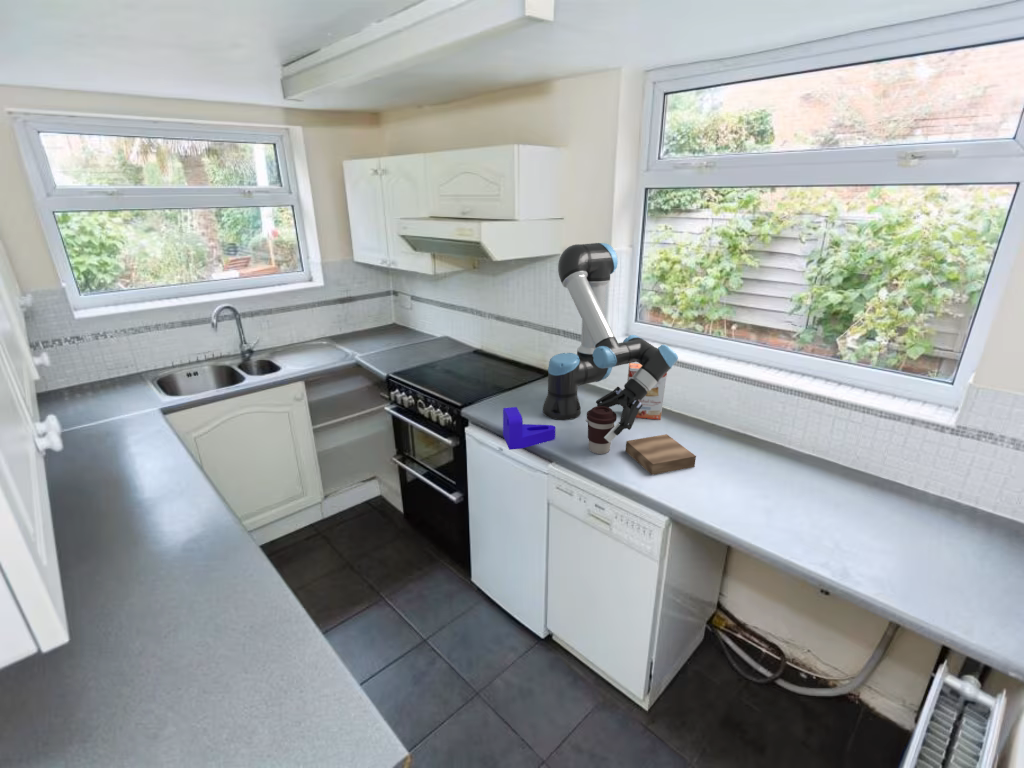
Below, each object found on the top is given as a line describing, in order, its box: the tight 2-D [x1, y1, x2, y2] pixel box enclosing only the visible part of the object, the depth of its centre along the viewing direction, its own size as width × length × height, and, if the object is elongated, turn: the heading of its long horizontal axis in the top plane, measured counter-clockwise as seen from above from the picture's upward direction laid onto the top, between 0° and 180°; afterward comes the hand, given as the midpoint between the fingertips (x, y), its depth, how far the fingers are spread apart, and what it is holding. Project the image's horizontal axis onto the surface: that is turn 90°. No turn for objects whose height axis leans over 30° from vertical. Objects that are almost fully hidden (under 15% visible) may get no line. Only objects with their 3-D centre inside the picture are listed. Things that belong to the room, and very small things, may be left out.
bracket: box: [502, 406, 557, 450], centre depth 178 cm, size 18×11×12 cm, turn 102°
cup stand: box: [625, 433, 697, 476], centre depth 167 cm, size 16×16×4 cm
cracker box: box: [626, 362, 668, 421], centre depth 195 cm, size 14×6×21 cm, turn 80°
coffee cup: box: [586, 405, 618, 455], centre depth 171 cm, size 10×10×15 cm
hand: (596, 431), depth 170 cm, fingers open, 13 cm apart
